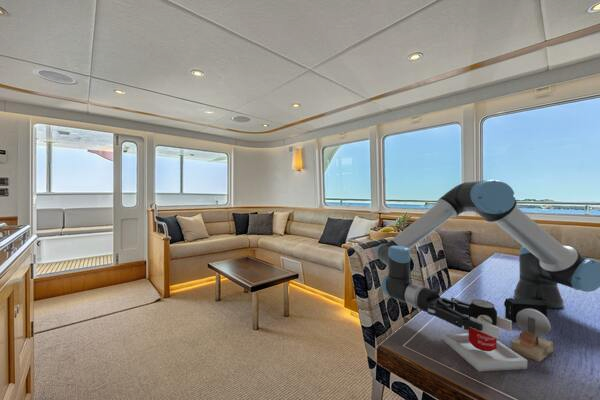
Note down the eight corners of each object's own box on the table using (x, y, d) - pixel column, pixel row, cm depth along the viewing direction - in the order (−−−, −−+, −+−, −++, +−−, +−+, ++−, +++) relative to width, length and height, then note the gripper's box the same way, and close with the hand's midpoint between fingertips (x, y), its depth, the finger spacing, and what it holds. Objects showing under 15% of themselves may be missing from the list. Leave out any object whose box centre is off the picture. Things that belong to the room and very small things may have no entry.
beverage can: (463, 342, 72) (463, 300, 71) (477, 338, 74) (478, 297, 74) (486, 355, 66) (487, 309, 66) (502, 350, 68) (502, 305, 68)
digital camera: (535, 318, 91) (535, 298, 91) (547, 325, 86) (547, 305, 86) (502, 316, 93) (503, 296, 93) (512, 323, 87) (513, 303, 87)
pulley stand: (524, 339, 77) (524, 302, 77) (555, 351, 71) (556, 311, 71) (509, 349, 72) (509, 309, 72) (541, 363, 66) (542, 319, 66)
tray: (485, 339, 77) (485, 332, 77) (527, 368, 64) (527, 360, 64) (444, 341, 76) (444, 334, 76) (478, 371, 63) (478, 362, 63)
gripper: (439, 303, 90) (521, 334, 70) (403, 315, 81) (485, 355, 60) (439, 282, 90) (521, 307, 70) (403, 292, 80) (486, 324, 60)
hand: (504, 329), depth 65 cm, fingers closed on beverage can, 6 cm apart
